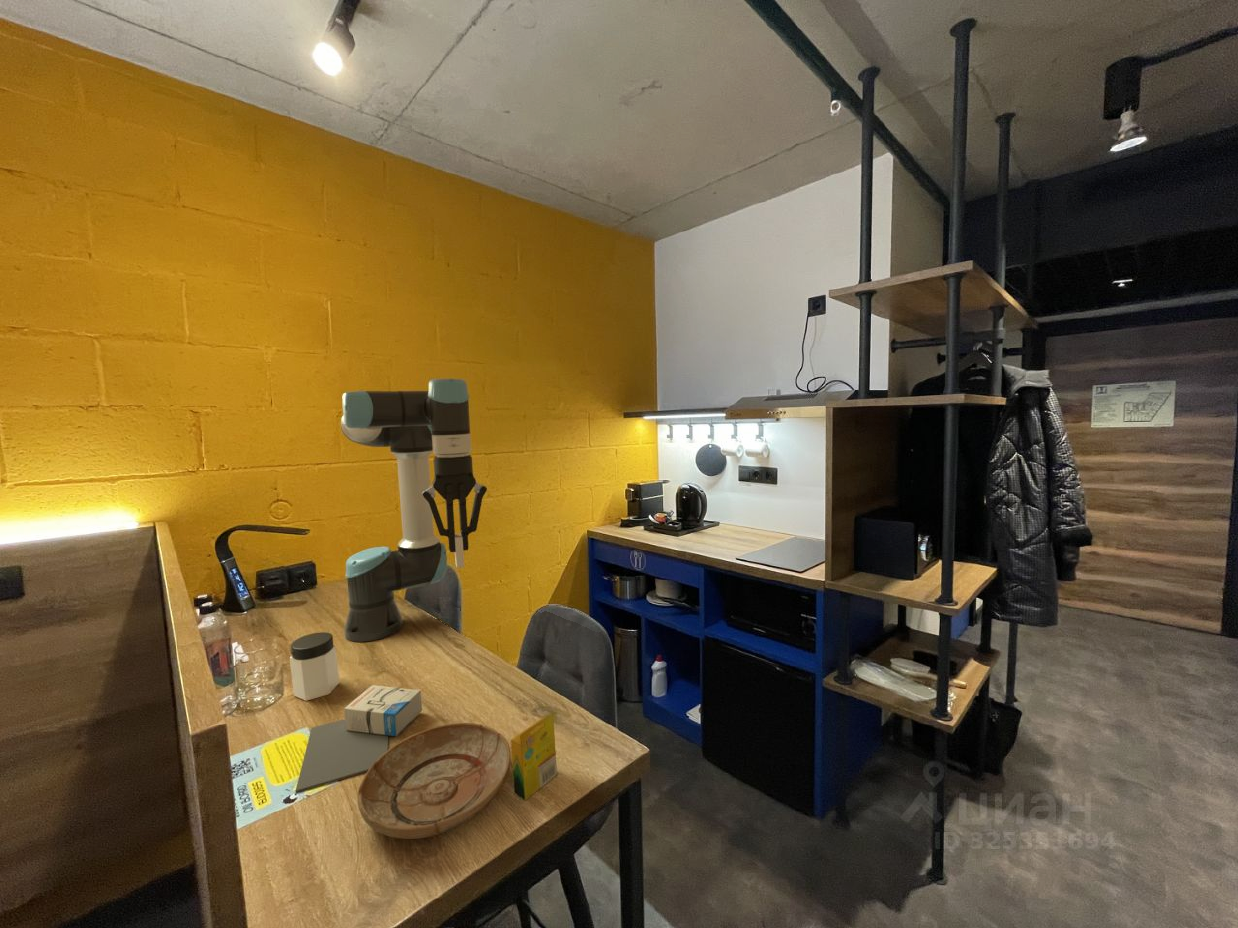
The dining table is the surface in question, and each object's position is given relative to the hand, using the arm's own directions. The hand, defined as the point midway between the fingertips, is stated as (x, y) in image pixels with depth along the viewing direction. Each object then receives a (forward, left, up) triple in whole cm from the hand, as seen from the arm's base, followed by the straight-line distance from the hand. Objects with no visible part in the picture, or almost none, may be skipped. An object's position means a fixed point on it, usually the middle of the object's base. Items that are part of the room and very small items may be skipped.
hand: (459, 565), depth 104 cm
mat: (+5, -23, -30) cm, 38 cm away
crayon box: (+30, +7, -31) cm, 43 cm away
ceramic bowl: (+25, -8, -31) cm, 40 cm away
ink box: (+4, -12, -28) cm, 30 cm away
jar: (-20, -31, -31) cm, 48 cm away
